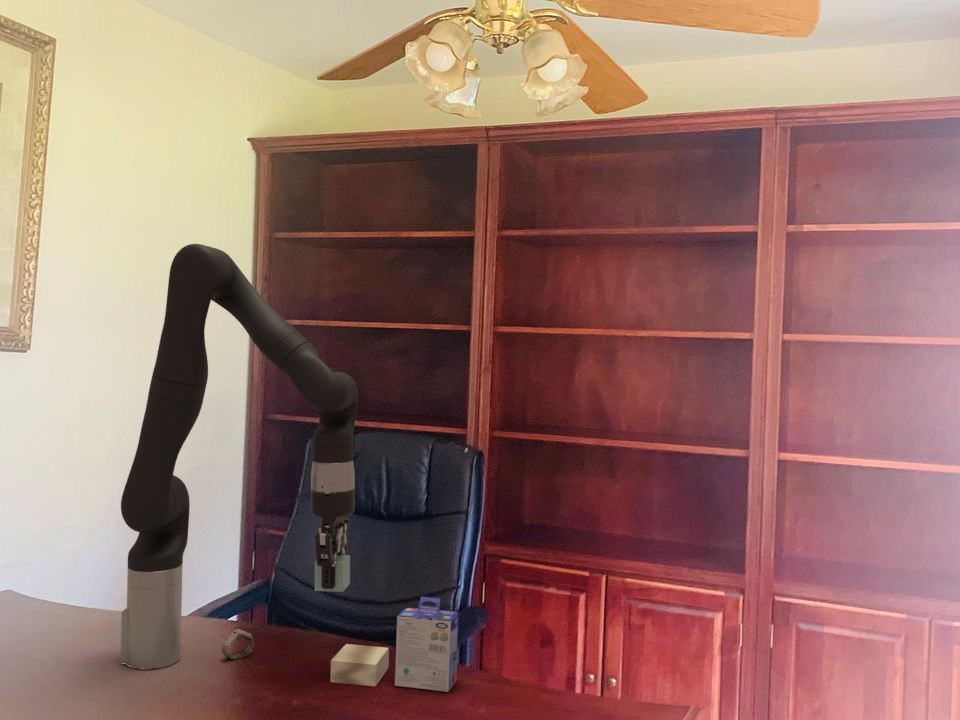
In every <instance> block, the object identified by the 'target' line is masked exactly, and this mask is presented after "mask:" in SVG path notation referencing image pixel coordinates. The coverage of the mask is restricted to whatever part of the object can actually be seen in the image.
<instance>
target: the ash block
mask: <svg viewBox="0 0 960 720" xmlns="http://www.w3.org/2000/svg"><path fill="white" fill-rule="evenodd" d="M389 652H390V648H389V647H383V646H373V645H371V646H369V645H361V644H353V643H351V644H349V643H345V645H344V646H342V648H341V649H340V650H339V651H338V652H337V653H336V654H335V655H334V656H333V658H332V659H331V660H330V678H329V679H330V680H329V681H330V683H337V684H347V685H355V686H356V685H357V686H367V687H376V686H377V685H378V684H379V682H380V681H381V679H382V678H383V677H384V675H385V674H386V673H387V671H388V669H389V657H390V656H389V655H390V653H389Z"/></svg>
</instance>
